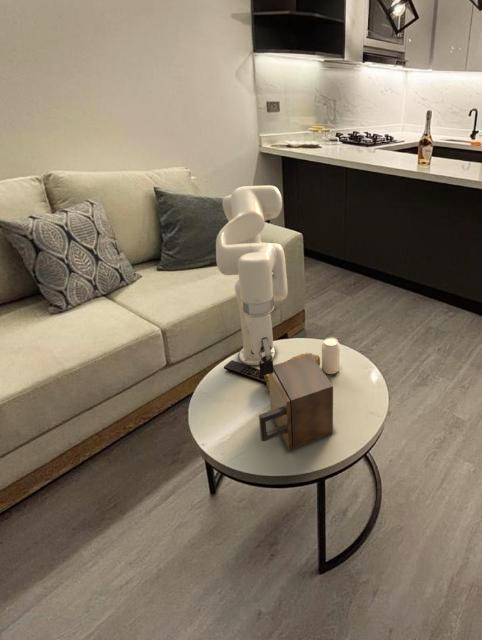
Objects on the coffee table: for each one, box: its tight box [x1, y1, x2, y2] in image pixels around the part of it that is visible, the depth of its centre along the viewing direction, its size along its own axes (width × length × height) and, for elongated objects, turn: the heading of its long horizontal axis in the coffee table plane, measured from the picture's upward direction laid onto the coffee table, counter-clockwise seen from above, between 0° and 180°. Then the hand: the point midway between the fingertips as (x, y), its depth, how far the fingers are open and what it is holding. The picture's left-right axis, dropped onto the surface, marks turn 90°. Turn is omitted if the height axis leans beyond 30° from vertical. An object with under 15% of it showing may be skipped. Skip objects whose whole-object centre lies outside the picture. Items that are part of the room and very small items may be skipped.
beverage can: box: [321, 336, 341, 375], centre depth 141 cm, size 6×6×12 cm
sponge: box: [263, 352, 321, 393], centre depth 137 cm, size 13×8×20 cm
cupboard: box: [273, 355, 334, 450], centre depth 118 cm, size 12×16×17 cm
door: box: [258, 372, 293, 451], centre depth 113 cm, size 8×16×17 cm, turn 30°
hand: (262, 362), depth 104 cm, fingers open, 9 cm apart
